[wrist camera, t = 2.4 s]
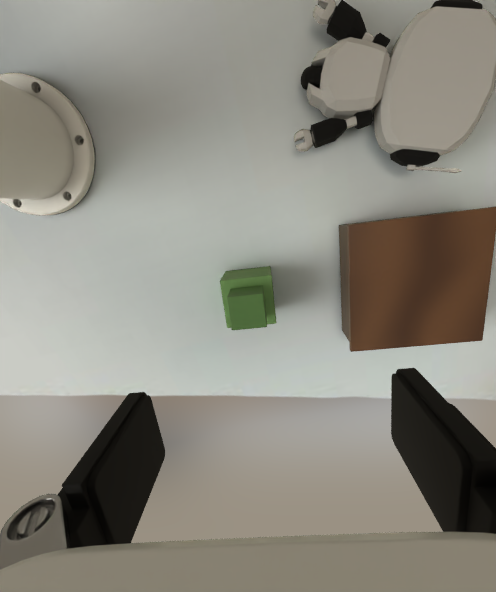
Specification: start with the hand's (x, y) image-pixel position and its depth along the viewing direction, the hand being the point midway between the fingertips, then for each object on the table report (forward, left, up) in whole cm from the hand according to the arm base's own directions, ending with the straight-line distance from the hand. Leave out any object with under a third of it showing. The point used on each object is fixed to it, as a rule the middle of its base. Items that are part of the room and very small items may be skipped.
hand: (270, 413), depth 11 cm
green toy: (-2, -1, -22) cm, 22 cm away
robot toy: (+12, +16, -22) cm, 30 cm away
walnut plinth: (+14, -1, -22) cm, 26 cm away
